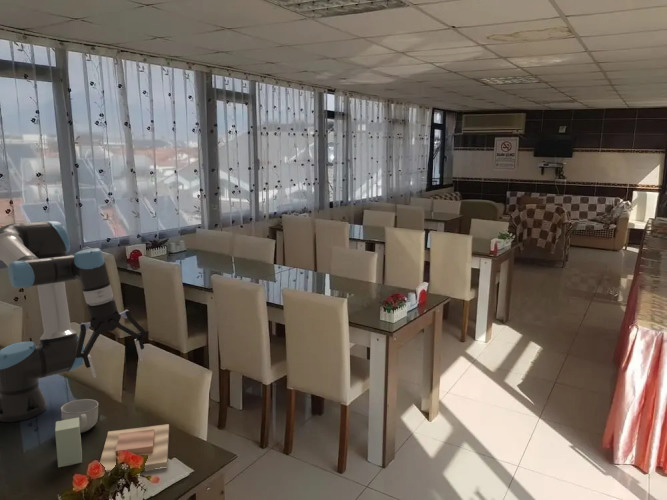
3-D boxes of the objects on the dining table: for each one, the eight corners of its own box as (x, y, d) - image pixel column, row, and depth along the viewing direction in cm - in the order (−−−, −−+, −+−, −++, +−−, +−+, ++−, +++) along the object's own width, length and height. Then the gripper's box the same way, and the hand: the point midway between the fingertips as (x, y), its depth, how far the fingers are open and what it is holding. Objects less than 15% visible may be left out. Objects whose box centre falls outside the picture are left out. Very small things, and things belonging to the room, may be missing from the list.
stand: (108, 437, 160) (107, 425, 160) (169, 429, 165) (168, 418, 165) (97, 478, 140) (96, 465, 139) (167, 468, 144) (166, 455, 144)
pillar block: (58, 456, 150) (55, 421, 148) (81, 451, 152) (79, 417, 151) (58, 467, 144) (55, 431, 143) (81, 462, 147) (79, 426, 145)
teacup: (64, 423, 169) (62, 400, 167) (100, 417, 173) (98, 395, 172) (60, 444, 156) (58, 420, 155) (99, 437, 160) (97, 413, 159)
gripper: (54, 317, 141) (75, 387, 145) (146, 291, 153) (163, 356, 158) (52, 311, 147) (72, 379, 151) (141, 287, 159) (156, 350, 164)
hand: (118, 367), depth 155 cm, fingers open, 13 cm apart
